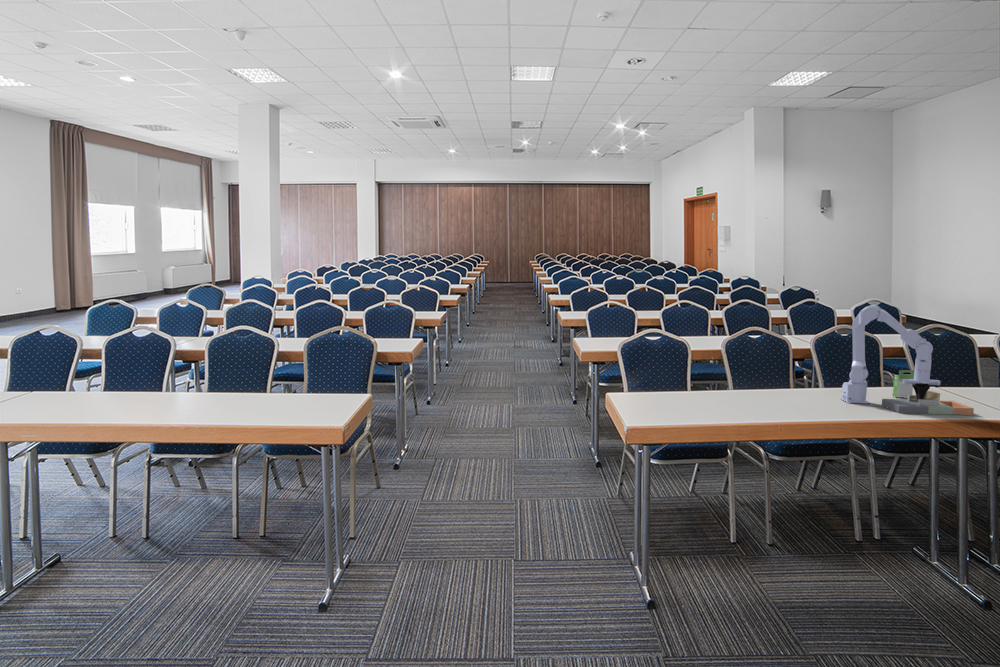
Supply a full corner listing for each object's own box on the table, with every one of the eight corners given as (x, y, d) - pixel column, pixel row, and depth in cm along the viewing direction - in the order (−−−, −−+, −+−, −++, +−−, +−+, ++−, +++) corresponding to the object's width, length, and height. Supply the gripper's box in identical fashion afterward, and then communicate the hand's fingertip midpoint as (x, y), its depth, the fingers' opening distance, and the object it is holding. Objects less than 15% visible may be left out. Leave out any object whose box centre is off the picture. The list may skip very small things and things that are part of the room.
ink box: (907, 396, 306) (910, 368, 305) (912, 398, 302) (914, 370, 301) (892, 396, 307) (894, 368, 305) (896, 398, 303) (899, 369, 301)
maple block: (926, 404, 277) (927, 393, 277) (920, 401, 282) (921, 390, 282) (939, 405, 277) (940, 393, 276) (932, 402, 282) (933, 391, 281)
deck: (898, 413, 274) (898, 406, 274) (881, 405, 288) (882, 398, 288) (973, 415, 272) (973, 408, 272) (952, 407, 286) (953, 400, 285)
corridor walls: (919, 405, 275) (920, 399, 275) (907, 400, 285) (907, 394, 284) (938, 406, 275) (938, 400, 275) (925, 401, 284) (925, 395, 284)
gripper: (909, 371, 275) (907, 402, 276) (945, 372, 274) (942, 403, 275) (901, 368, 282) (898, 398, 283) (936, 369, 281) (933, 399, 282)
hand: (919, 401), depth 280 cm, fingers closed
